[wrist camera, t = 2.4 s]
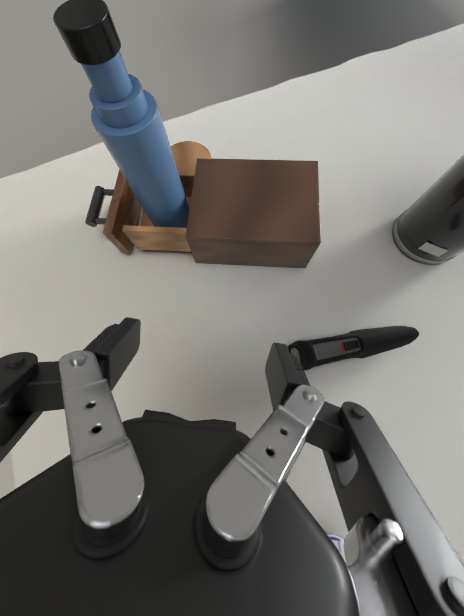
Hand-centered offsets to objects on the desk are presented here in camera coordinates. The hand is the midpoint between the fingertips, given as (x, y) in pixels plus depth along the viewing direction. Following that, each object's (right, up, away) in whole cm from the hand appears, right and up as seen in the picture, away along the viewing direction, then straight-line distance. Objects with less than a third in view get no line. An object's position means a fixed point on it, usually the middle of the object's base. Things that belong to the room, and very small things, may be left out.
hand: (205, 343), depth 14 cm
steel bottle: (-7, +16, +21) cm, 27 cm away
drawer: (-9, +16, +22) cm, 29 cm away
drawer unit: (+5, +14, +22) cm, 27 cm away
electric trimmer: (+17, -3, +17) cm, 24 cm away
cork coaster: (-6, +28, +26) cm, 39 cm away
